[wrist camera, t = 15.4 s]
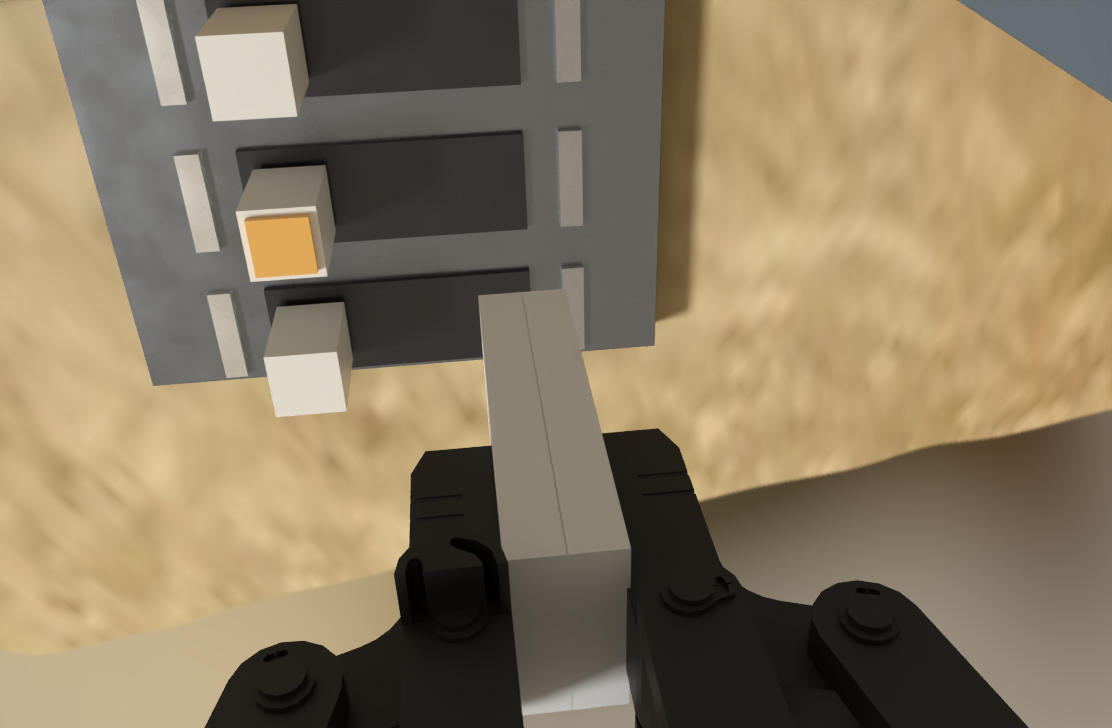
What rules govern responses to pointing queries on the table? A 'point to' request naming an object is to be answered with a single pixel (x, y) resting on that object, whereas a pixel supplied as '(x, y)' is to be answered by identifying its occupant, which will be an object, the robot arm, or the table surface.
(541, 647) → the robot arm
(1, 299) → the table surface
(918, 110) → the table surface
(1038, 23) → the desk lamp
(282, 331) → the block
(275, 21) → the block
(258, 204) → the block
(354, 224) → the panel
